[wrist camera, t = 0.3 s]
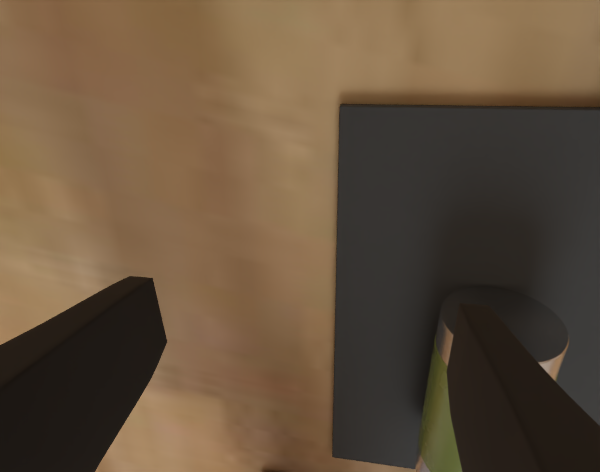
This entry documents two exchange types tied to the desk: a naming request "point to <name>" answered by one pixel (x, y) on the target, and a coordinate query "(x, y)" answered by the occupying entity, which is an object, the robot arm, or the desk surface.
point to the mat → (455, 249)
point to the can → (436, 411)
